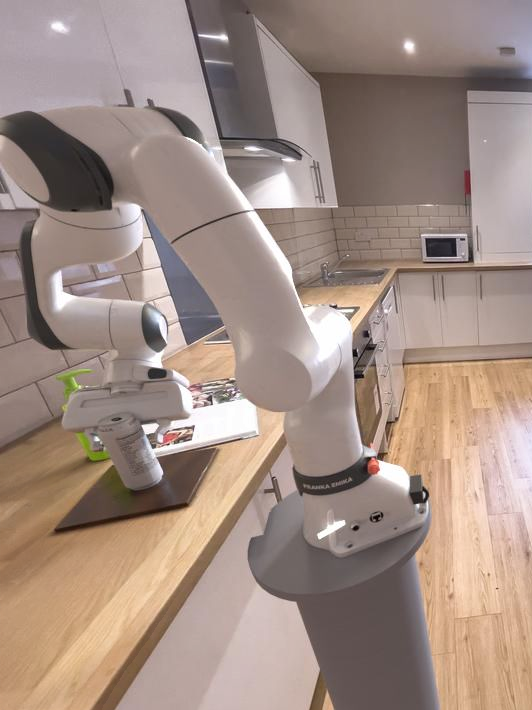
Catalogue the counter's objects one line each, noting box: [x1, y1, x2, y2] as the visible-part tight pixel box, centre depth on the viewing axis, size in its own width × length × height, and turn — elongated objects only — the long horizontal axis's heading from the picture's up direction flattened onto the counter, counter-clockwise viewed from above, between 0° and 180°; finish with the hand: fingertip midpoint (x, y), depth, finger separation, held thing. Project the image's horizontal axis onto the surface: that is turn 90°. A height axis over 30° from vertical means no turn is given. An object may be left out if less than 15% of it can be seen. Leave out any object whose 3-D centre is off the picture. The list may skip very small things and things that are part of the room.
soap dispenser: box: [55, 368, 111, 462], centre depth 91 cm, size 6×7×20 cm
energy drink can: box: [97, 412, 163, 490], centre depth 80 cm, size 6×6×15 cm
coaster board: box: [53, 446, 219, 533], centre depth 83 cm, size 20×20×1 cm
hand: (127, 447), depth 79 cm, fingers open, 8 cm apart
